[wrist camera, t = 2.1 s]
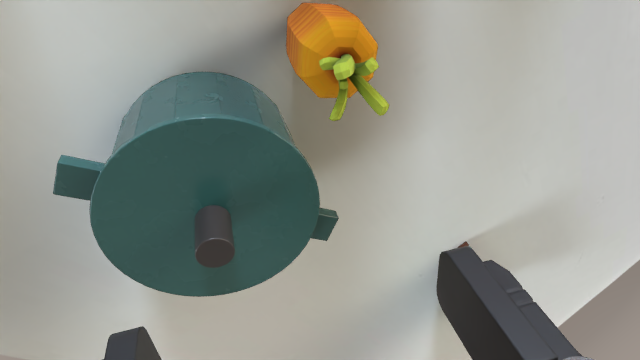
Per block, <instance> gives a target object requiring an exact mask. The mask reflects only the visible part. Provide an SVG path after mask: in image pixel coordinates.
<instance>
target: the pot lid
mask: <svg viewBox="0 0 640 360" xmlns="http://www.w3.org/2000/svg"><path fill="white" fill-rule="evenodd" d="M319 206H320V200H319V190H318V186H317V182H316V179H315V177H314V174H313V172H312V169H311V167H310V165H309V164H308V162H307V160H306V159H305V157H304V156H303V155H302V154H301V152H300V151H299V150H298V149H297V147H295V146H294V145H293V144H292V143H291V142H290V141H289V140H288V139H287V138H285V137H284V136H282V135H281V134H279V133H278V132H276V131H275V130H273V129H271V128H269V127H267V126H265V125H263V124H260V123H257V122H254V121H252V120H249V119H245V118H241V117H236V116H231V115H221V114H196V115H189V116H182V117H178V118H174V119H170V120H166V121H163V122H161V123H158V124H156V125H153V126H151V127H148V128H146V129H145V130H143V131H141V132H139V133H138V134H136V135H134V136H133V137H131V138H130V139H129V140H127V141H126V142H125V143H123V144H122V145H121V146H120V147H119V148H118V149H117V150H116V151H115V152H114V153H113V154H112V155H111V156H110V158H109V159H108V160H107V162H106V163H105V165H104V166H103V167H102V169H101V171H100V173H99V175H98V177H97V179H96V182H95V185H94V188H93V192H92V195H91V201H90V221H91V226H92V230H93V233H94V236H95V238H96V240H97V243H98V245H99V247H100V248H101V250H102V251H103V253H104V254H105V256H106V257H107V258H108V259H109V260H110V261H111V262H112V264H113V265H114V266H115V267H117V268H118V269H119V270H120V271H121V272H123V273H124V274H125V275H127V276H129V277H130V278H132V279H133V280H135V281H137V282H139V283H141V284H143V285H145V286H147V287H150V288H153V289H156V290H158V291H162V292H166V293H170V294H176V295H183V296H198V297H199V296H216V295H224V294H229V293H233V292H238V291H241V290H244V289H247V288H250V287H252V286H255V285H257V284H260V283H262V282H264V281H266V280H267V279H269V278H271V277H273V276H274V275H276V274H277V273H279V272H280V271H282V270H283V269H284V268H286V267H287V266H288V265H289V264H290V263H291V262H292V261H293V260H294V259H295V258H296V257H297V256H298V255H299V254H300V253H301V251H302V250H303V249H304V248H305V246H306V245H307V243H308V241H309V240H310V238H311V236H312V234H313V231H314V229H315V227H316V223H317V219H318V215H319Z"/></svg>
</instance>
